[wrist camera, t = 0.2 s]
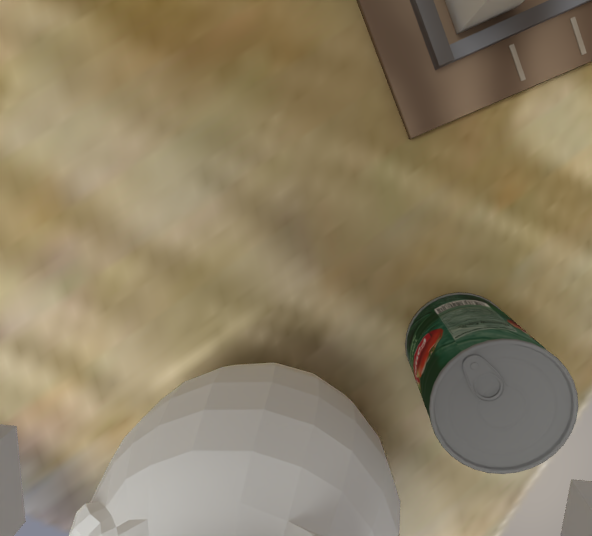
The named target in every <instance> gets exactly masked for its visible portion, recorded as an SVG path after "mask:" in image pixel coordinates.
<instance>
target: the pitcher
mask: <svg viewBox="0 0 592 536" xmlns="http://www.w3.org/2000/svg"><path fill="white" fill-rule="evenodd" d="M399 528H400V499H399V496H398V493H397V490H396V486H395V483H394V480H393V476H392V474H391V471H390V468H389V465H388V462H387V459H386V456H385V453H384V450H383V447H382V444H381V441H380V438H379V437H378V435H377V434H376V432H375V431H374V430H373V428H372V427H371V426H370V424H369V423H368V422H367V420H366V419H365V418H364V416H363V415H362V414H361V412H360V411H359V410H358V408H357V407H356V406H355V404H354V403H353V402H352V401H351V400H350V399H349V398H348V397H347V396H346V395H345V394H343V393H342V392H340V391H339V390H337V389H336V388H334V387H333V386H331V385H330V384H328V383H327V382H326V381H324V380H323V379H321V378H320V377H318V376H317V375H315V374H314V373H311V372H307V371H303V370H300V369H296V368H293V367H289V366H286V365H282V364H278V363H257V364H240V365H231V366H225V367H221V368H218V369H216V370H213V371H211V372H208V373H206V374H203V375H200V376H198V377H195V378H193V379H190V380H188V381H185V382H183V383H182V384H181V385H179V386H178V387H177V388H176V389H174V390H173V391H172V392H170V393H169V394H168V395H166V396H165V397H164V398H163V399H161V400H160V401H159V402H158V403H157V404H156V405H155V406H154V407H153V408H152V409H151V410H150V411H149V412H148V413H147V414H146V415H145V416H144V417H143V418H142V419H141V421H140V422H139V423H138V424H137V425H136V426H135V427H134V428H133V429H132V430H131V431H130V432H129V433H128V434H127V435H126V437H125V438H124V439H123V441H122V442H121V444H120V446H119V448H118V449H117V451H116V453H115V454H114V456H113V458H112V460H111V461H110V463H109V465H108V467H107V469H106V471H105V473H104V475H103V477H102V479H101V481H100V483H99V485H98V487H97V489H96V491H95V494H94V496H93V498H92V500H91V502H90V503H86V504H84V505H83V506H82V507H81V508H80V509H79V510H78V511H77V512H76V515H75V518H74V521H73V525H72V528H71V531H70V534H69V536H399Z"/></svg>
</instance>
